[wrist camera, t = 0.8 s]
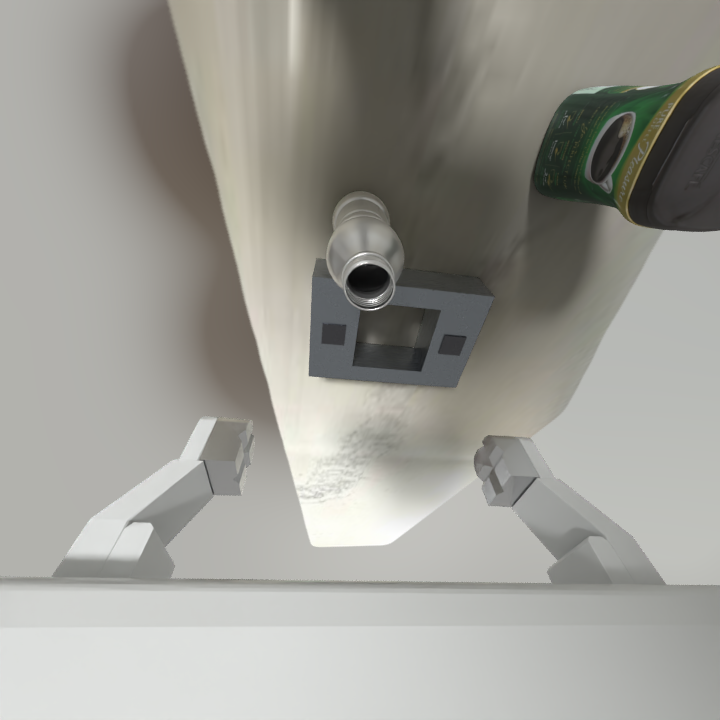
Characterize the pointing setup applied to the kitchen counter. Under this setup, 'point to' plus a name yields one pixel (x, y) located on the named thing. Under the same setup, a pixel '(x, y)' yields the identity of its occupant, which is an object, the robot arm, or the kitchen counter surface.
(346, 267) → the silver bottle
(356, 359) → the grey slotted block
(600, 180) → the coffee jar
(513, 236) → the kitchen counter surface
